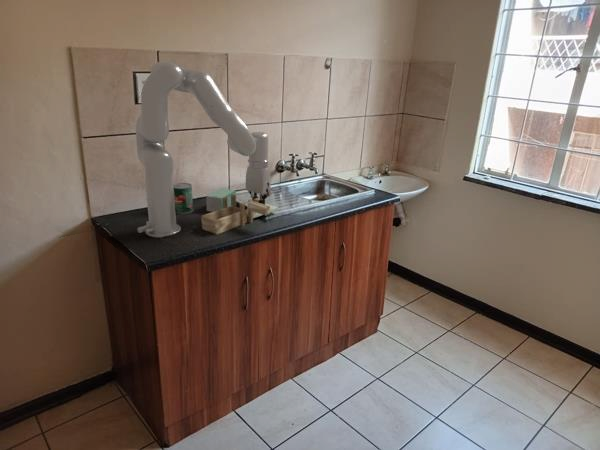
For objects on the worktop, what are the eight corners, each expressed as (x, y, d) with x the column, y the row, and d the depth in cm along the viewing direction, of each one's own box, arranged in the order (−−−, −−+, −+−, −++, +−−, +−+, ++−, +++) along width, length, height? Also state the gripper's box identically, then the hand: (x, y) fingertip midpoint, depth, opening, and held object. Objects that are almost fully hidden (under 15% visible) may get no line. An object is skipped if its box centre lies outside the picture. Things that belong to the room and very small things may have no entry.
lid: (253, 218, 177) (253, 204, 175) (239, 213, 181) (239, 200, 179) (278, 209, 188) (278, 197, 187) (264, 205, 193) (265, 193, 191)
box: (236, 205, 197) (236, 189, 194) (222, 215, 185) (221, 198, 182) (222, 203, 199) (221, 187, 196) (206, 213, 187) (205, 196, 184)
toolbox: (219, 237, 163) (218, 211, 159) (199, 229, 169) (198, 204, 165) (253, 224, 177) (252, 200, 173) (233, 217, 182) (233, 194, 179)
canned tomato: (195, 207, 192) (194, 183, 188) (190, 214, 185) (189, 188, 181) (176, 207, 192) (175, 182, 188) (171, 213, 185) (169, 187, 181)
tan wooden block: (265, 215, 165) (265, 207, 164) (247, 209, 170) (247, 202, 169) (270, 213, 167) (270, 206, 166) (251, 208, 172) (251, 200, 171)
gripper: (237, 162, 179) (237, 205, 185) (267, 169, 170) (267, 214, 176) (249, 159, 184) (250, 201, 191) (280, 165, 175) (279, 210, 182)
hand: (258, 207), depth 184 cm, fingers closed on lid, 2 cm apart
